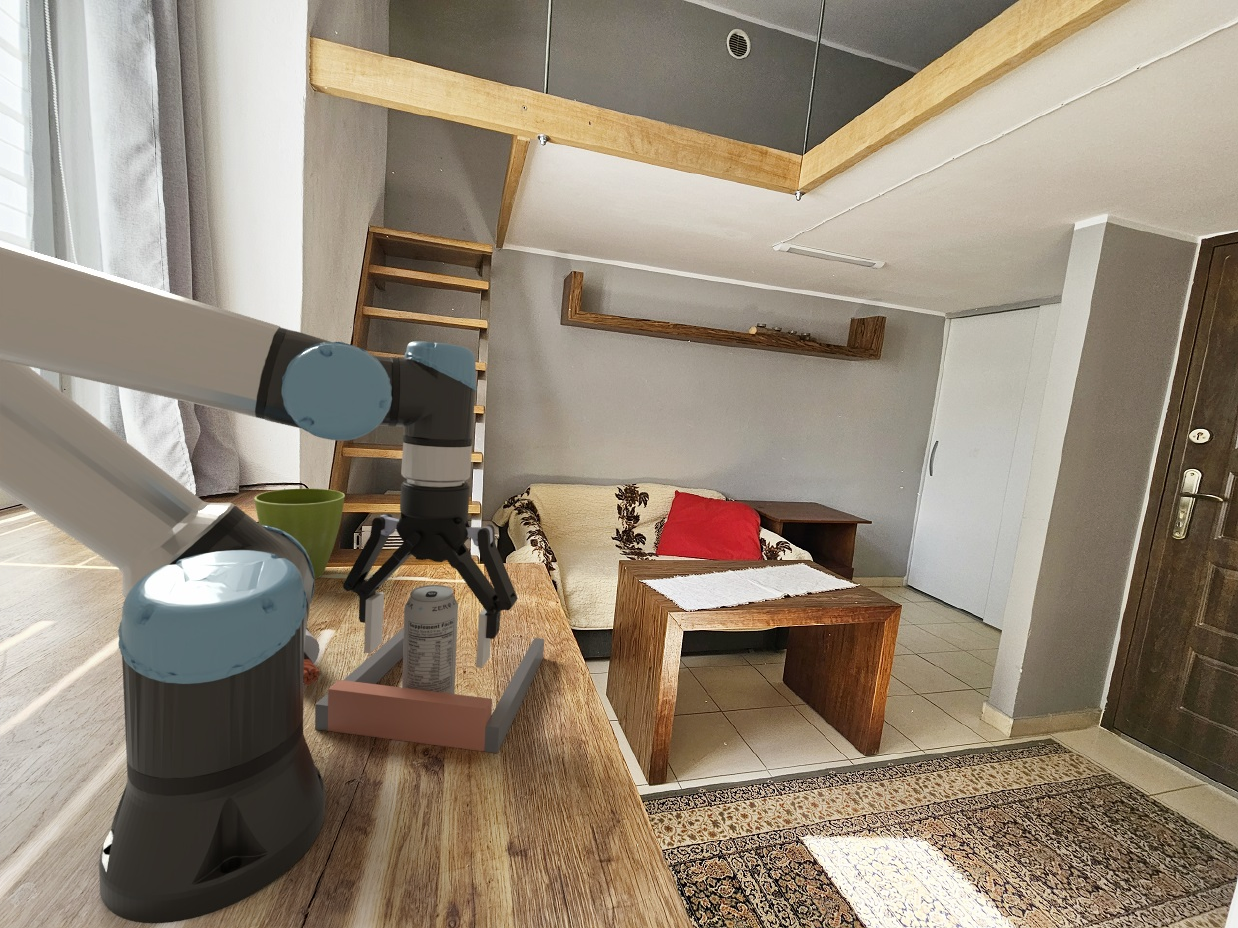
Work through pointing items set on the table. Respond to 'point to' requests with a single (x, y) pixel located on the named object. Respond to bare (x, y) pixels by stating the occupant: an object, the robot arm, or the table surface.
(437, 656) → the energy drink can
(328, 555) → the flower pot
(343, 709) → the guide lane
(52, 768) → the table surface
